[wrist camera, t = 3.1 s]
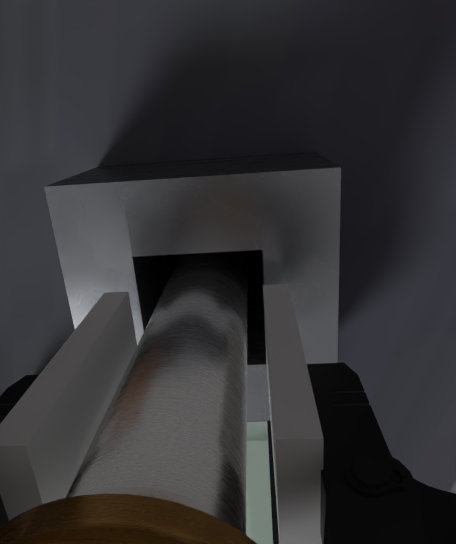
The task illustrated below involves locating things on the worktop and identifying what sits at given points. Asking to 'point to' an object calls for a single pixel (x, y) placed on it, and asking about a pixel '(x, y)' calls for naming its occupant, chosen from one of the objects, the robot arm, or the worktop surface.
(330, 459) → the robot arm
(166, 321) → the pin
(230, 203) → the socket block
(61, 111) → the worktop surface
